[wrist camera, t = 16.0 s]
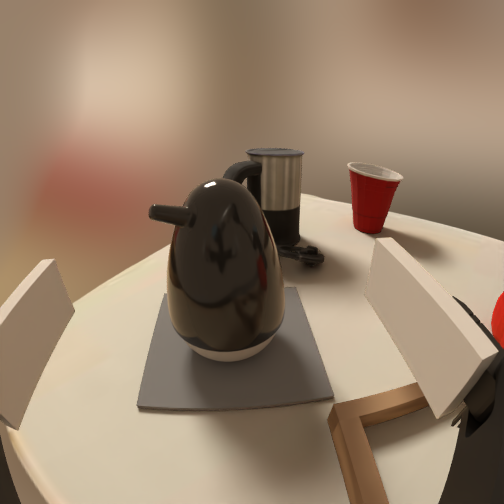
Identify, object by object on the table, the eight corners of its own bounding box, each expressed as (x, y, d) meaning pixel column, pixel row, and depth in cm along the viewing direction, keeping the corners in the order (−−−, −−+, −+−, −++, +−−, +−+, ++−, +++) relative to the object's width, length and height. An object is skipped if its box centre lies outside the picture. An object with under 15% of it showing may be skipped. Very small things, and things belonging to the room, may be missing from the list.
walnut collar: (469, 373, 19) (481, 356, 18) (531, 487, 5) (549, 474, 4) (327, 419, 18) (333, 404, 17) (371, 593, 4) (387, 596, 3)
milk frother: (265, 223, 54) (265, 145, 47) (344, 243, 46) (353, 155, 39) (215, 252, 43) (209, 156, 36) (309, 284, 35) (319, 166, 28)
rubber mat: (295, 289, 34) (295, 286, 34) (332, 398, 20) (333, 395, 20) (164, 296, 33) (164, 293, 33) (137, 407, 19) (136, 405, 19)
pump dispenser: (160, 330, 27) (128, 182, 20) (241, 295, 33) (237, 162, 26) (210, 400, 20) (176, 214, 13) (304, 343, 25) (322, 181, 18)
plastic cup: (385, 245, 44) (396, 177, 39) (332, 228, 51) (337, 165, 46) (400, 228, 51) (409, 171, 46) (355, 214, 58) (360, 160, 53)
